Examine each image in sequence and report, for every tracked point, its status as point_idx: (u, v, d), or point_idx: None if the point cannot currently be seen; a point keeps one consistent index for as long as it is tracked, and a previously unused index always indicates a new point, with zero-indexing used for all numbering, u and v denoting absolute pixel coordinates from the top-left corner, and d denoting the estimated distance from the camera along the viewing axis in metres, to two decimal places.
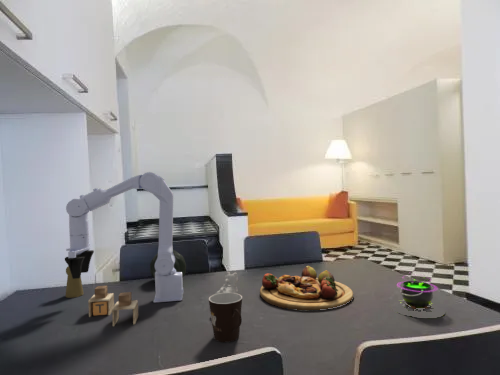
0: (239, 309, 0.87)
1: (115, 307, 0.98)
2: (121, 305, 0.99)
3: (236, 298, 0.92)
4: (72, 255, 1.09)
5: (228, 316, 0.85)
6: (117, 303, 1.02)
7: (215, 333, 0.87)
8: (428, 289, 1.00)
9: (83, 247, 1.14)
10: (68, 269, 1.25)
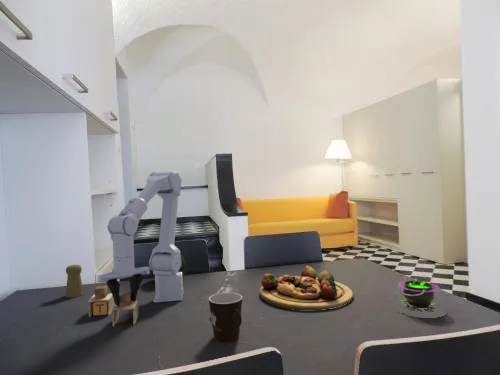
0: (239, 309, 0.87)
1: (115, 307, 0.98)
2: (121, 305, 0.99)
3: (236, 298, 0.92)
4: (98, 280, 0.96)
5: (228, 316, 0.85)
6: None
7: (215, 333, 0.87)
8: (430, 289, 1.00)
9: (119, 272, 0.98)
10: (68, 269, 1.25)
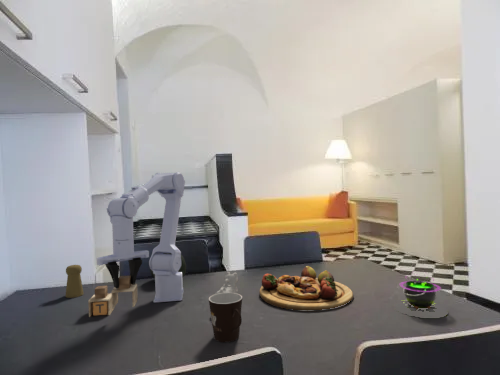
0: (239, 309, 0.87)
1: (114, 290, 0.98)
2: (120, 288, 0.99)
3: (236, 298, 0.92)
4: (98, 262, 0.96)
5: (228, 316, 0.85)
6: None
7: (215, 333, 0.87)
8: (431, 289, 1.00)
9: (118, 254, 0.98)
10: (68, 269, 1.25)
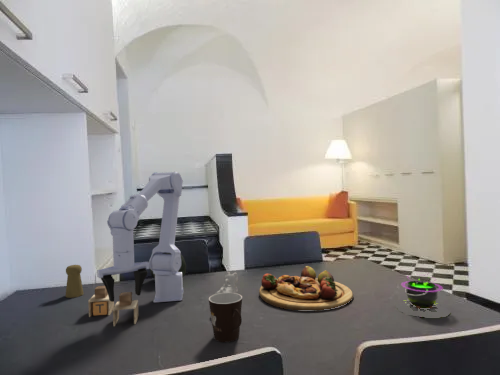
0: (239, 309, 0.87)
1: (116, 307, 0.98)
2: (122, 305, 0.99)
3: (236, 298, 0.92)
4: (98, 274, 0.96)
5: (228, 316, 0.85)
6: (117, 303, 1.02)
7: (215, 333, 0.87)
8: (433, 289, 1.00)
9: (119, 267, 0.98)
10: (68, 269, 1.25)
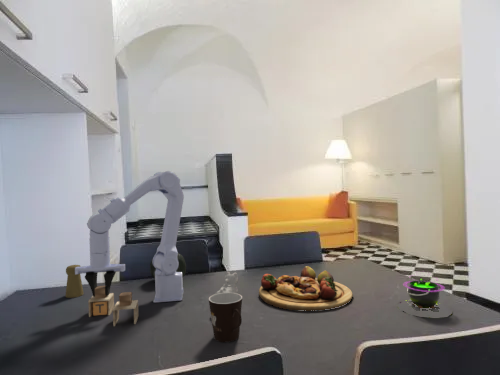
0: (239, 309, 0.87)
1: (116, 307, 0.98)
2: (122, 305, 0.99)
3: (236, 298, 0.92)
4: None
5: (228, 316, 0.85)
6: (117, 303, 1.02)
7: (215, 333, 0.87)
8: (435, 289, 1.00)
9: (91, 266, 1.06)
10: (68, 269, 1.25)
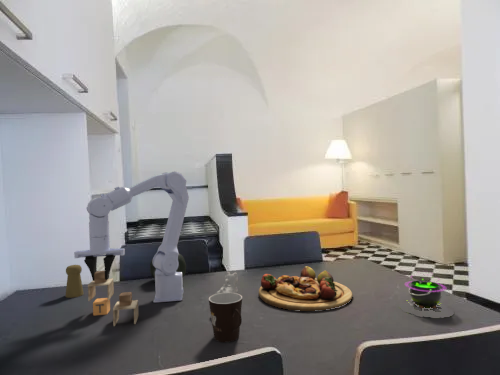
0: (239, 309, 0.87)
1: (116, 307, 0.98)
2: (122, 305, 0.99)
3: (236, 298, 0.92)
4: None
5: (228, 316, 0.85)
6: (117, 303, 1.02)
7: (215, 333, 0.87)
8: (436, 289, 1.00)
9: (91, 250, 1.06)
10: (68, 269, 1.25)
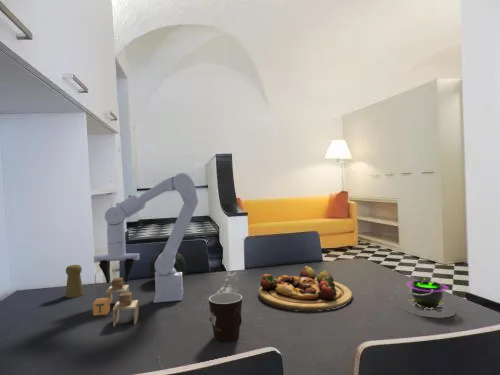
0: (239, 309, 0.87)
1: (116, 307, 0.98)
2: (122, 305, 0.99)
3: (236, 298, 0.92)
4: None
5: (228, 316, 0.85)
6: (117, 303, 1.02)
7: (215, 333, 0.87)
8: (438, 289, 1.00)
9: (109, 255, 1.15)
10: (68, 269, 1.25)
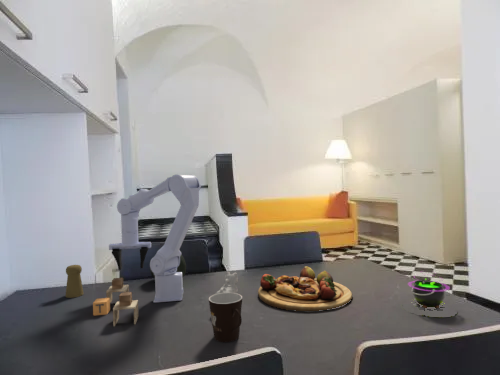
0: (239, 309, 0.87)
1: (116, 307, 0.98)
2: (122, 305, 0.99)
3: (236, 298, 0.92)
4: None
5: (228, 316, 0.85)
6: (117, 303, 1.02)
7: (215, 333, 0.87)
8: (440, 288, 1.01)
9: (123, 243, 1.24)
10: (68, 269, 1.25)
